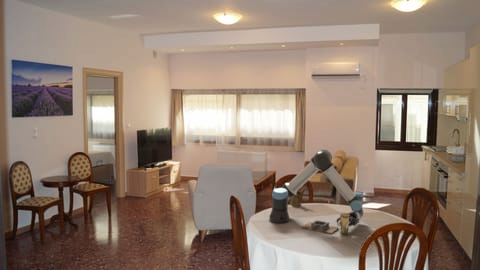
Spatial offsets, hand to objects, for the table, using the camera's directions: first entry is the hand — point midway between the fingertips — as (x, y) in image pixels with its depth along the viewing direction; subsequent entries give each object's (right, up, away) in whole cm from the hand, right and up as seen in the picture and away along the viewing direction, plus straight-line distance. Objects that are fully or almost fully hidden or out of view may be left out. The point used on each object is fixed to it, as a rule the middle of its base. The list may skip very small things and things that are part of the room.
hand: (342, 225), depth 260 cm
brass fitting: (+3, -7, +5) cm, 9 cm away
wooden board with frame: (-11, -6, +16) cm, 21 cm away
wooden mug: (-18, -1, +80) cm, 82 cm away
